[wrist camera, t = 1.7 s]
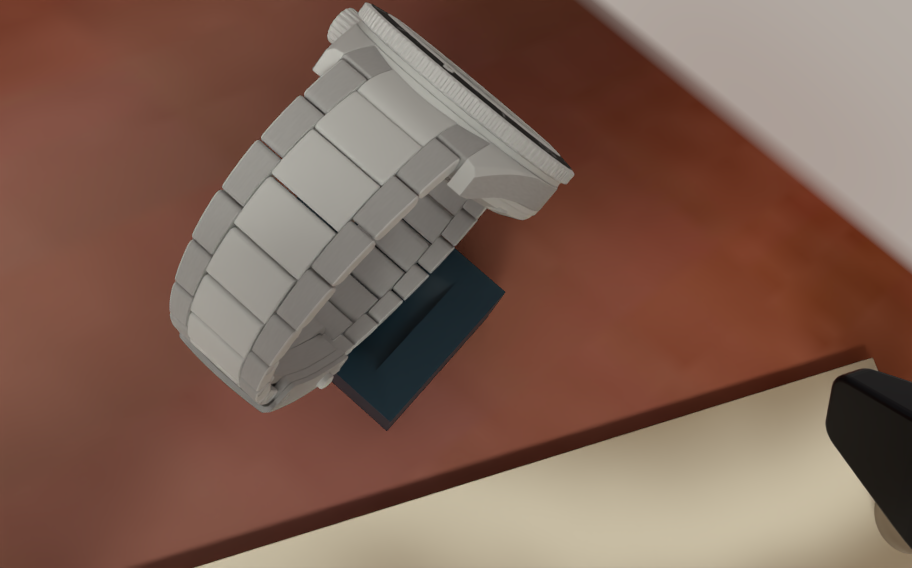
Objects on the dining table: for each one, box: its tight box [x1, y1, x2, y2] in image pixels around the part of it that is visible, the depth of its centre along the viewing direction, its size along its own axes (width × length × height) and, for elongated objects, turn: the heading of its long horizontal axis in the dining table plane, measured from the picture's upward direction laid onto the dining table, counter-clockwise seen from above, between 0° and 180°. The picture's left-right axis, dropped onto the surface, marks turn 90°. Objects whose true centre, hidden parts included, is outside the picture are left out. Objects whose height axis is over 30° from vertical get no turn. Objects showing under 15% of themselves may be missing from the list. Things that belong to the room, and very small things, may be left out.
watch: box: [170, 3, 574, 431], centre depth 16 cm, size 6×8×11 cm
